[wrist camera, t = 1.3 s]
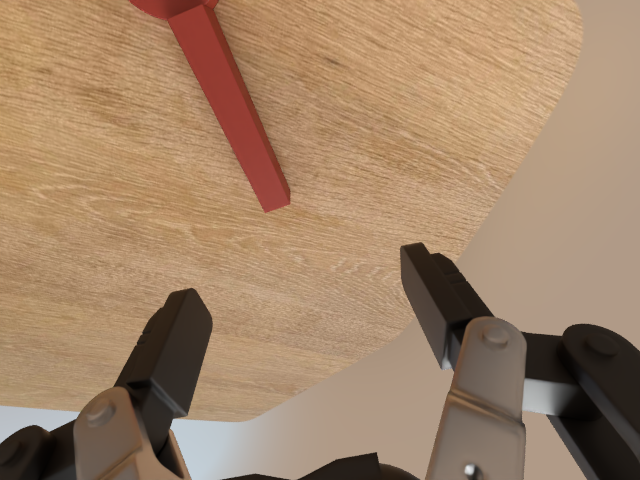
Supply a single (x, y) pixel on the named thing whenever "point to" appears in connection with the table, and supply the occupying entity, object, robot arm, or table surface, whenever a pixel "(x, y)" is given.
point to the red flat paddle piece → (224, 92)
